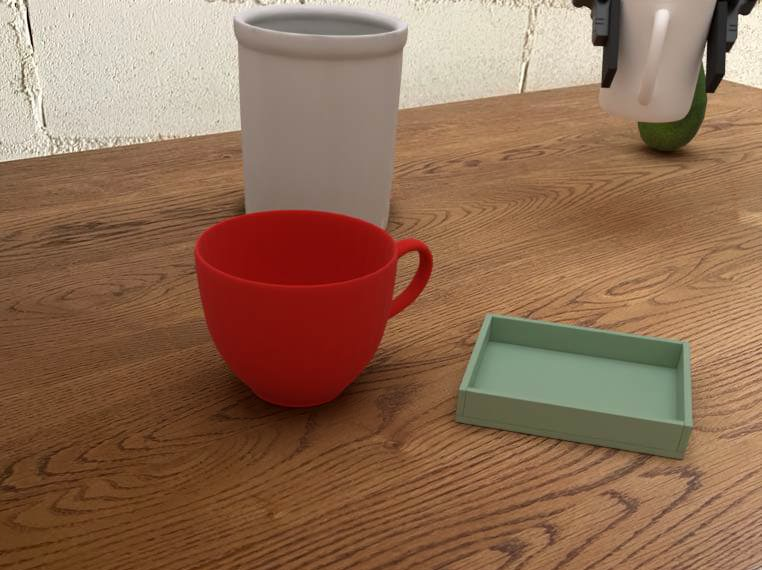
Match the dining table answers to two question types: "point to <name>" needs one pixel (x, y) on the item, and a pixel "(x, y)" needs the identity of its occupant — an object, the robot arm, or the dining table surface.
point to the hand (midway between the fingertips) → (661, 80)
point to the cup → (658, 59)
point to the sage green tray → (579, 385)
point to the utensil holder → (319, 108)
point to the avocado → (678, 123)
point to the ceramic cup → (301, 298)
